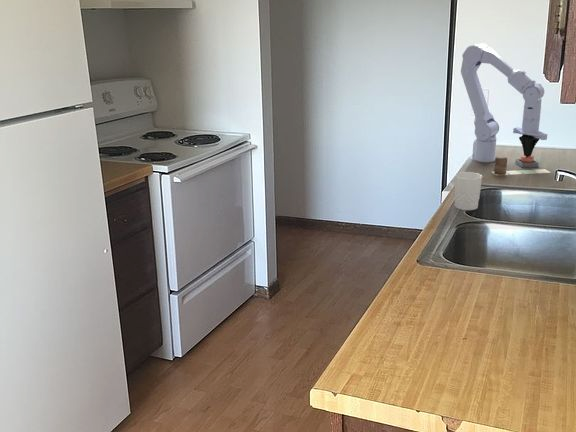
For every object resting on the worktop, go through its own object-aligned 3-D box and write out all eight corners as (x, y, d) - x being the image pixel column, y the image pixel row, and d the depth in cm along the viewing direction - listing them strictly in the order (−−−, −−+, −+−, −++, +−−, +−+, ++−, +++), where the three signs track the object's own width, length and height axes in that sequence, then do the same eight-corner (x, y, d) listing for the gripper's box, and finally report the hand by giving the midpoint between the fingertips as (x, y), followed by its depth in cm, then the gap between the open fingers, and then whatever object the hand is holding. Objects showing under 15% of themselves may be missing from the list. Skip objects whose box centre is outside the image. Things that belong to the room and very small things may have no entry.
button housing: (515, 165, 230) (515, 159, 229) (530, 165, 230) (531, 158, 230) (521, 170, 224) (522, 163, 224) (537, 169, 225) (538, 162, 224)
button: (518, 161, 229) (519, 155, 228) (530, 161, 229) (530, 154, 228) (523, 164, 225) (524, 158, 224) (535, 164, 225) (536, 157, 224)
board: (487, 172, 223) (487, 169, 223) (541, 169, 224) (542, 167, 224) (498, 180, 213) (498, 177, 213) (554, 177, 214) (555, 174, 214)
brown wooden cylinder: (492, 171, 220) (493, 156, 218) (503, 171, 220) (504, 156, 218) (496, 174, 216) (497, 159, 214) (507, 174, 216) (509, 159, 214)
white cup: (477, 202, 191) (479, 171, 188) (482, 211, 184) (484, 178, 181) (451, 202, 192) (452, 171, 189) (455, 211, 185) (457, 179, 181)
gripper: (508, 116, 226) (504, 153, 231) (537, 123, 214) (534, 161, 218) (523, 114, 229) (519, 150, 233) (553, 121, 216) (549, 158, 221)
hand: (527, 155), depth 226 cm, fingers closed
